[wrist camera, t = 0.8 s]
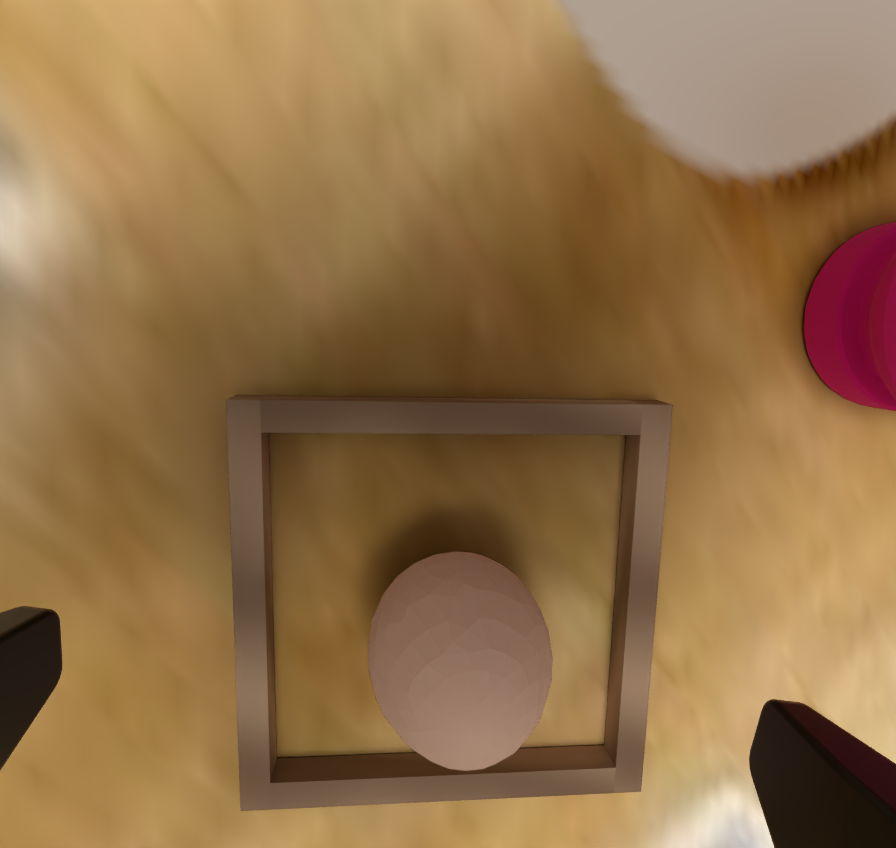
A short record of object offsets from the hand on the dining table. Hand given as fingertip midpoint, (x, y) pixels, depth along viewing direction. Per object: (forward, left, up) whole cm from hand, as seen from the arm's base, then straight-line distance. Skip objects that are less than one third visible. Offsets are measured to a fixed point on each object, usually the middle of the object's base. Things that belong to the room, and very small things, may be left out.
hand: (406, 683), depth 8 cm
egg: (-5, -2, -13) cm, 14 cm away
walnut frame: (-5, -2, -13) cm, 14 cm away
